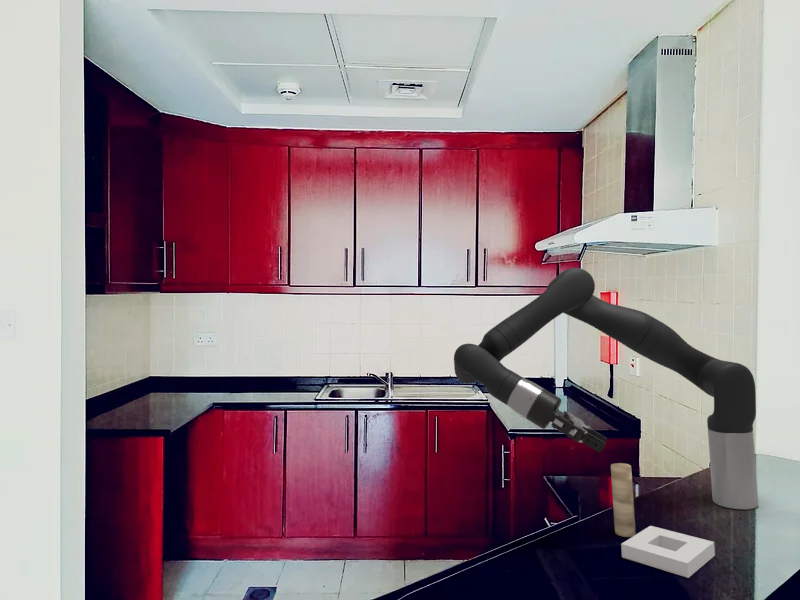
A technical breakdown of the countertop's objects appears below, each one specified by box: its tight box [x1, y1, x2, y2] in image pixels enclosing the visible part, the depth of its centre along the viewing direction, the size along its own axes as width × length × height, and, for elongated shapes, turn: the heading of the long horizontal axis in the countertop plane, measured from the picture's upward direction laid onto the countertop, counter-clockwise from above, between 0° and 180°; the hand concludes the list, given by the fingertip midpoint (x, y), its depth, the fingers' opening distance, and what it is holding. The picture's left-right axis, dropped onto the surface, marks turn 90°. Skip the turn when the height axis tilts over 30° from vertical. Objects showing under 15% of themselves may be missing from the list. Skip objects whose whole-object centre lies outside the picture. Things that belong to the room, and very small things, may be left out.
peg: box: [610, 462, 637, 538], centre depth 115 cm, size 4×4×14 cm
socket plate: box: [620, 525, 716, 579], centre depth 104 cm, size 12×12×2 cm
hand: (604, 445), depth 112 cm, fingers open, 8 cm apart
